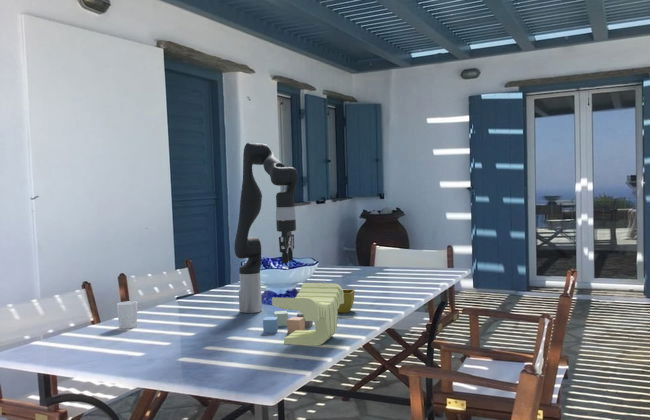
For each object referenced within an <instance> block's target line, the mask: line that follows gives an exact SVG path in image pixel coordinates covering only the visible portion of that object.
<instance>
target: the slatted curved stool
mask: <svg viewBox="0 0 650 420" xmlns="http://www.w3.org/2000/svg"><path fill="white" fill-rule="evenodd" d="M343 289H344V288H342V286H340V284H337V283H335V282H333V283H332V282H331V283H330V282H328V283H327V282H325V283H324V282H320V283H319V282H303V283H302V284H301V287H300V289H299V291H298V293H297V294H296V296H295V297H271V304H272V305H271V306H272V307H275V308H276V307H277V308H279V309H282V310H293V311H298V312H301V313H302V314H303V316H304V318H305V321H313V324H314V325H315V329H310V330H309V329H308V330H307V329H305V330H296V331H294V332H293V333H288V335H286V336H285V337H284V340H283V344H285V345H299V344H300V345H301V346H302V345H303V346H304V345H305V346H321V345H323V344H325V342H326V341H328V340H329V339H330V338H332V337H333V336H334V335H335V334H336V333H337V330H338V314H339V313H338V312H337V309H338V308H339V306H340V304H342V303H343V304H344V293H343Z"/></svg>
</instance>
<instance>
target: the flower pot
mask: <svg viewBox="0 0 650 420" xmlns="http://www.w3.org/2000/svg"><path fill="white" fill-rule="evenodd" d="M342 289H343V293H344V304H343V303H342V304H340V306H339V308H338V309H337V313H338V314H339V313H341V314H342V313H344V314H346V313H350V312H351V310H352V309H353V305H354V302H355V289H344V288H342Z"/></svg>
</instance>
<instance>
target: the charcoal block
mask: <svg viewBox="0 0 650 420" xmlns="http://www.w3.org/2000/svg"><path fill="white" fill-rule="evenodd" d="M296 317H304V316H303V314H302V313H301V312H300V311H298V313H297V314H296ZM304 319H305V318H304ZM313 325H314V321H305V328H311V326H313Z"/></svg>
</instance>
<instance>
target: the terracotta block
mask: <svg viewBox="0 0 650 420" xmlns="http://www.w3.org/2000/svg"><path fill="white" fill-rule="evenodd" d="M286 327H287V334H291V333H293V332H294V331H296V330H306V327H305V319H304V317H297V316H292V317H290V318H289V317H288V320H287V326H286Z"/></svg>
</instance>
